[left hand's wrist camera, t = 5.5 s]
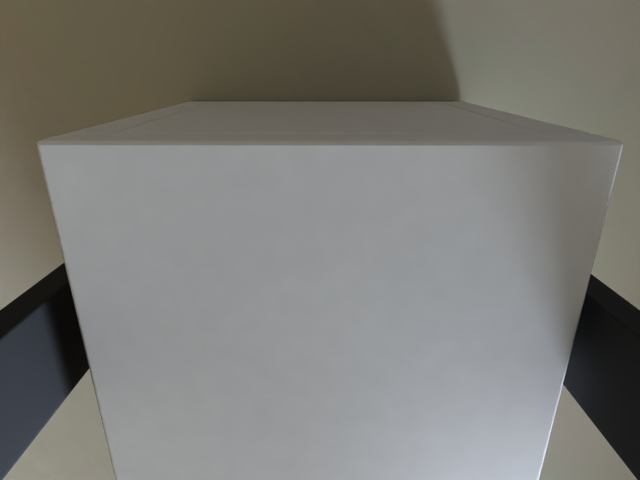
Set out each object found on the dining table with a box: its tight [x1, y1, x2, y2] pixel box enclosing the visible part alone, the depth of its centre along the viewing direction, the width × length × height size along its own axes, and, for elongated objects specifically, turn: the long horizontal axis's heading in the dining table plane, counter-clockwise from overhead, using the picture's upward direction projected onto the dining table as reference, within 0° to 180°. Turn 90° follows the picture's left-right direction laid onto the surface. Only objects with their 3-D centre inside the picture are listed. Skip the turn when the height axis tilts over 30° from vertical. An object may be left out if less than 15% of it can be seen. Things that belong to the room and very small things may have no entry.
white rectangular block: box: [37, 101, 623, 480], centre depth 17 cm, size 21×12×10 cm, turn 0°
